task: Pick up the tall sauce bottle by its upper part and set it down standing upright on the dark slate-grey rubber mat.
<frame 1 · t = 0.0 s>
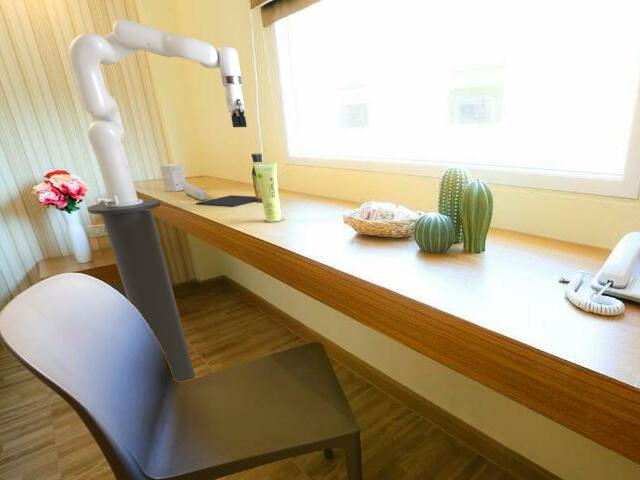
hand: (239, 127, 166), 30 cm above the table, tool pointing down, fingers open, 9 cm apart
small box: (177, 190, 205), on the table
tube: (196, 197, 183), on the table
tube 2: (273, 221, 135), on the table
mat: (231, 201, 172), on the table
sauce bottle: (264, 201, 170), on the table
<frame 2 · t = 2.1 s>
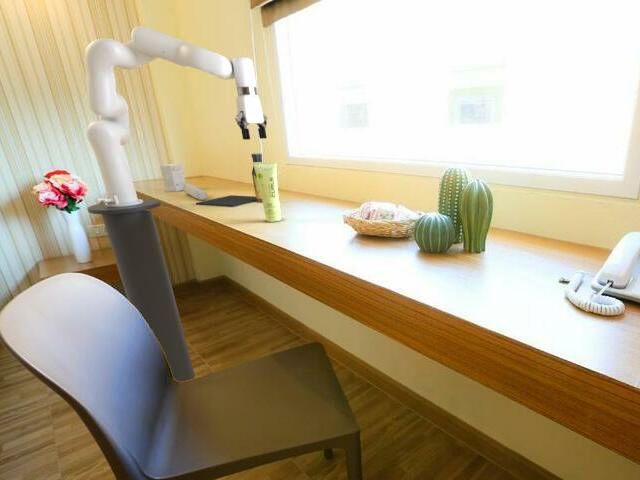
hand: (255, 138, 161), 26 cm above the table, tool pointing down, fingers open, 9 cm apart
nothing on the table moved.
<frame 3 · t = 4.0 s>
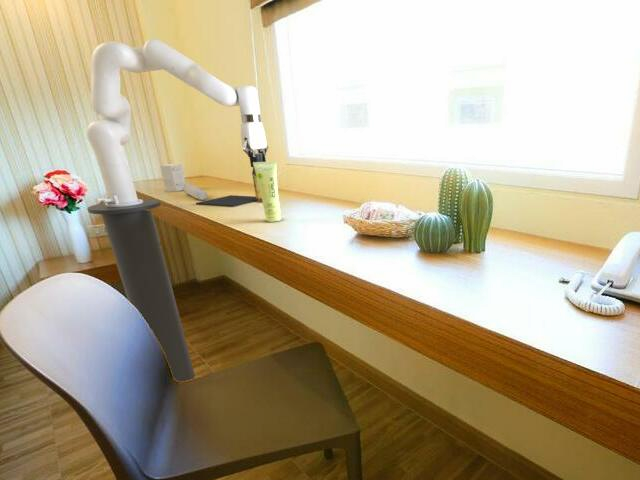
hand: (258, 166, 165), 15 cm above the table, tool pointing down, fingers closed on sauce bottle, 4 cm apart
sauce bottle: (264, 201, 170), on the table, touching gripper
everything else where it was.
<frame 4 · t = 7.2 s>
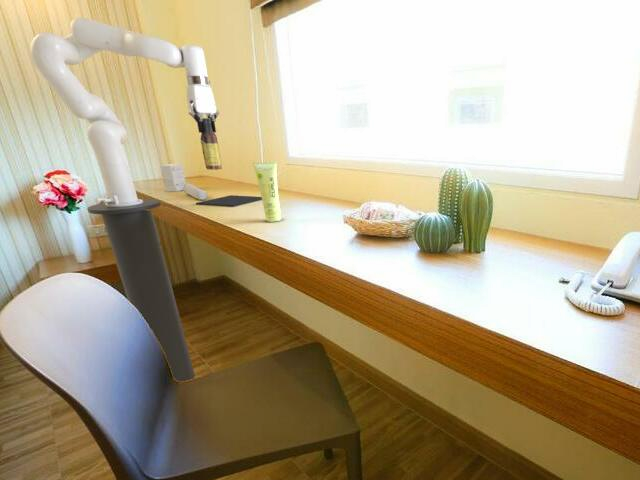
hand: (207, 131, 159), 29 cm above the table, tool pointing down, fingers closed on sauce bottle, 4 cm apart
sauce bottle: (214, 169, 164), point 14 cm above the table, touching gripper
everything else where it was.
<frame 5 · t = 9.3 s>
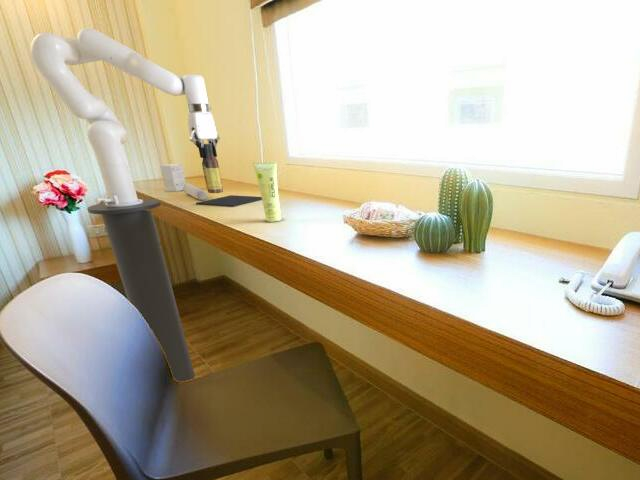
hand: (208, 156, 163), 19 cm above the table, tool pointing down, fingers closed on sauce bottle, 4 cm apart
sauce bottle: (215, 193, 168), point 4 cm above the table, touching gripper
everything else where it was.
when the fingers open (15 cm above the table, at t = 10.6 s): sauce bottle stays where it is, resting on mat.
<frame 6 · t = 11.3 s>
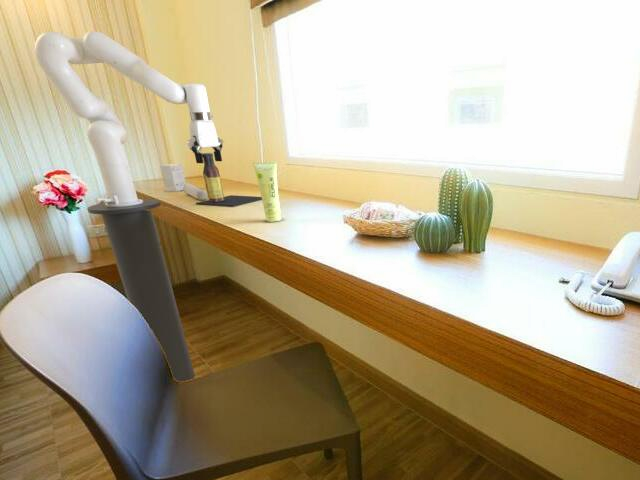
hand: (209, 162, 163), 17 cm above the table, tool pointing down, fingers open, 9 cm apart
sauce bottle: (217, 201, 169), resting on mat
everything else where it was.
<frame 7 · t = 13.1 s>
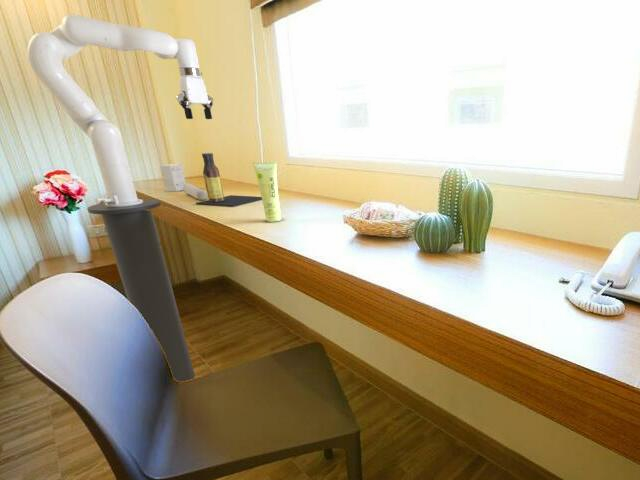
hand: (199, 118, 167), 34 cm above the table, tool pointing down, fingers open, 9 cm apart
nothing on the table moved.
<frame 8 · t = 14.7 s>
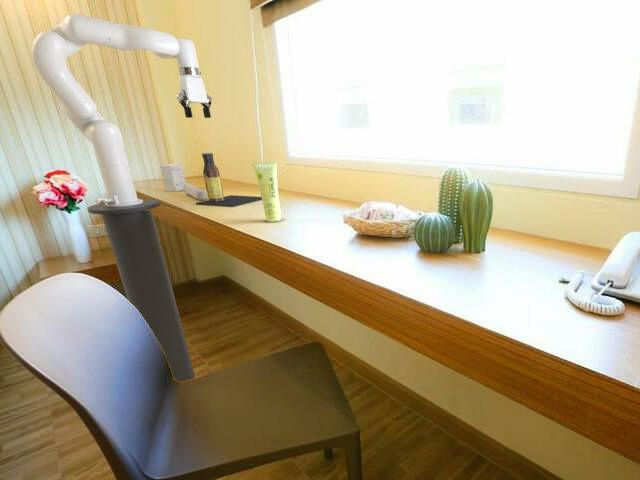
hand: (198, 117, 170), 34 cm above the table, tool pointing down, fingers open, 9 cm apart
nothing on the table moved.
at the end: sauce bottle inside the target area on the mat (5.9 cm from its centre), point 0.4 cm above the mat's base; sauce bottle tilted 0°; the gripper is holding nothing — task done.
